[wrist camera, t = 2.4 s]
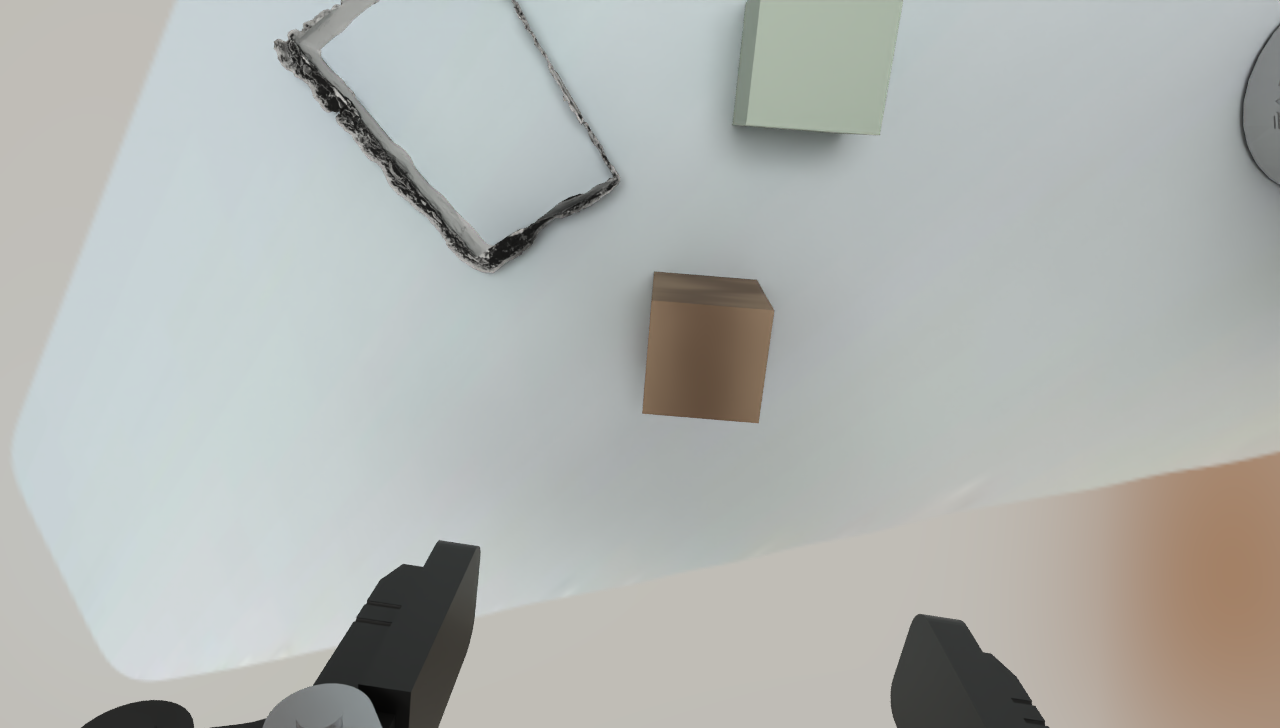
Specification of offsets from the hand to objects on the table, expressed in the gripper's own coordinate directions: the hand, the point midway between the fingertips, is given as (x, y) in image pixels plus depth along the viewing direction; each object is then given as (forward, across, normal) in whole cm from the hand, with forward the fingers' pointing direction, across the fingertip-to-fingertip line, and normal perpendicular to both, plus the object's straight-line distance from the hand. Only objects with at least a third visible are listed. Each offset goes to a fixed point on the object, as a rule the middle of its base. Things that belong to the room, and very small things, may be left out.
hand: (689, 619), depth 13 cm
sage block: (+23, -4, -12) cm, 26 cm away
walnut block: (+23, -1, 0) cm, 23 cm away
